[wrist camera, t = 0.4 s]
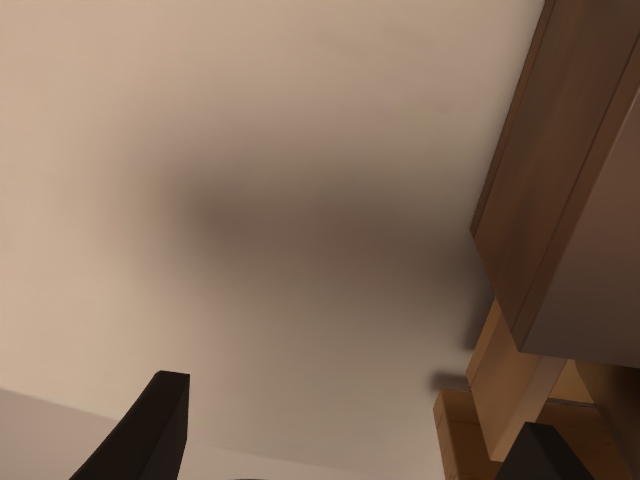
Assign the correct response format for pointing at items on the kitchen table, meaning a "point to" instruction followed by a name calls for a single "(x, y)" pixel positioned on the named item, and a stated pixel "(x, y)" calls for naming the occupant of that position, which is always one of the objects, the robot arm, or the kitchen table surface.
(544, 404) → the drawer
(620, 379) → the metal canister
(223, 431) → the kitchen table surface
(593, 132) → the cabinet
